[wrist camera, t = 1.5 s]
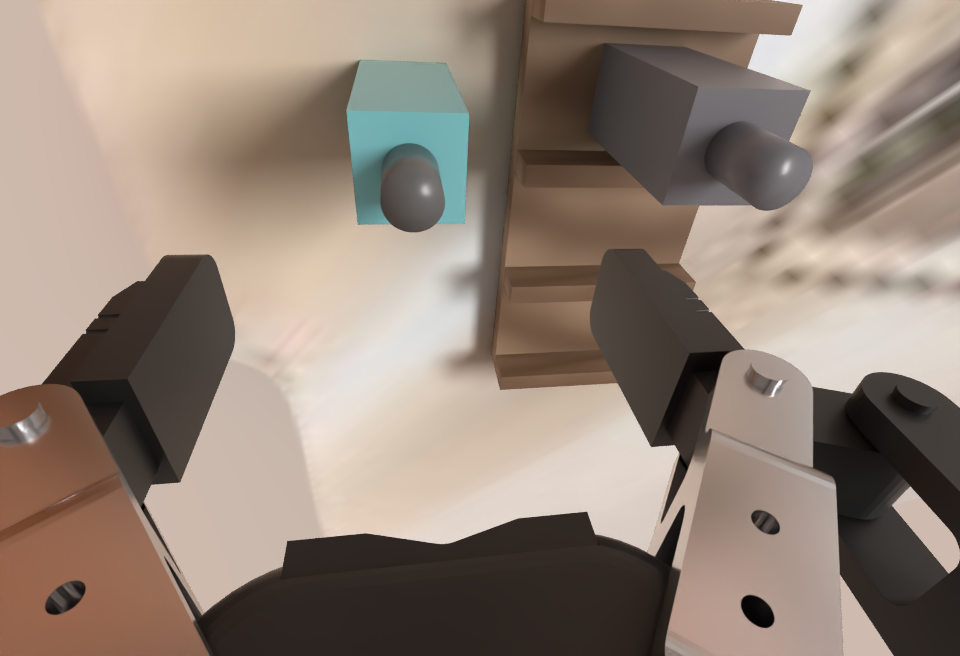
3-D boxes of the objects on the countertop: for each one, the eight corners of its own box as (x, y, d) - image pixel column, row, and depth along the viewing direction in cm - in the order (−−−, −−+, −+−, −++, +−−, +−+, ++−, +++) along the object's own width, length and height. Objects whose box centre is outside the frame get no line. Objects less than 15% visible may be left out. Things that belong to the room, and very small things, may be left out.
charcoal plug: (604, 42, 20) (745, 108, 12) (685, 46, 21) (872, 112, 13) (587, 132, 22) (697, 239, 14) (660, 134, 23) (807, 237, 15)
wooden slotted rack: (527, -17, 20) (547, -12, 17) (754, -3, 21) (802, 5, 19) (491, 354, 32) (500, 389, 29) (637, 347, 33) (658, 380, 31)
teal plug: (360, 59, 20) (339, 135, 12) (446, 63, 21) (480, 138, 13) (367, 147, 23) (353, 260, 15) (444, 148, 23) (473, 258, 15)
